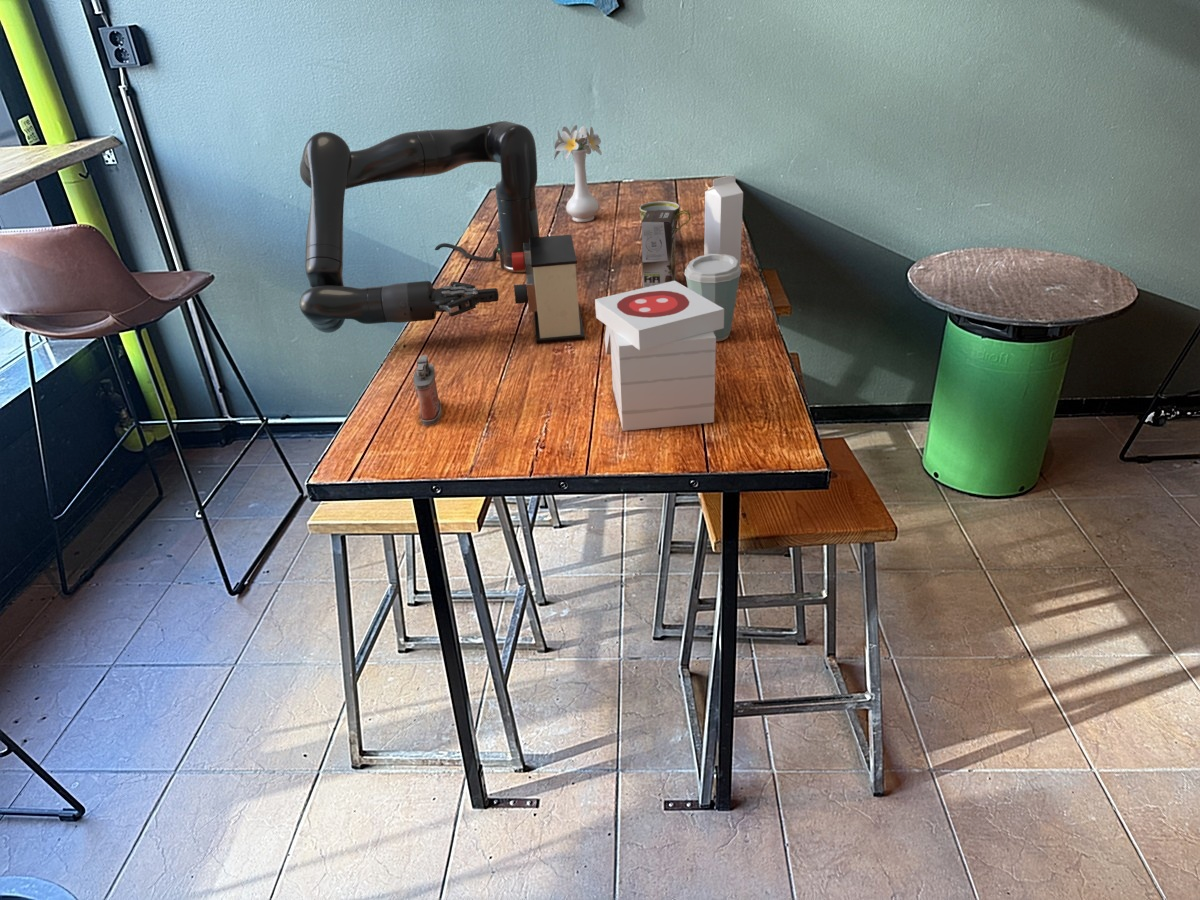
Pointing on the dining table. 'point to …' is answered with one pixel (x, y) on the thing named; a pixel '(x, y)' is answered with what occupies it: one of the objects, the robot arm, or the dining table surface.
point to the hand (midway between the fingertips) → (498, 294)
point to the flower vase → (579, 170)
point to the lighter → (427, 391)
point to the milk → (723, 218)
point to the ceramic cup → (663, 206)
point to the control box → (553, 288)
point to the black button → (520, 293)
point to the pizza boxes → (661, 354)
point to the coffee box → (658, 247)
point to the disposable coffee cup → (716, 284)
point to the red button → (518, 261)
